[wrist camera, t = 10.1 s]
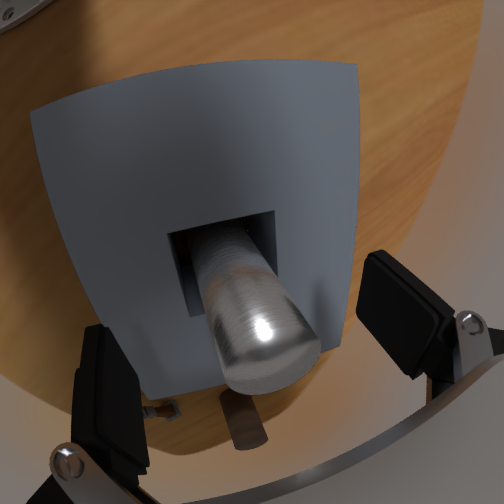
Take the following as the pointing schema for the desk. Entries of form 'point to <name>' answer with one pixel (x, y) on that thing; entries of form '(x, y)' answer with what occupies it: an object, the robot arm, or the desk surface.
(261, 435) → the short pin
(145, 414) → the wooden post with brackets
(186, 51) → the desk surface
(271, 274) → the long pin
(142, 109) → the hole block
